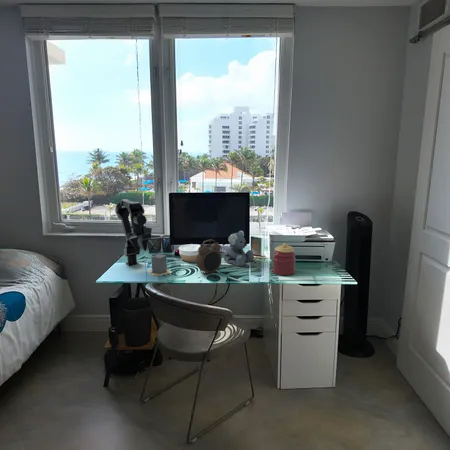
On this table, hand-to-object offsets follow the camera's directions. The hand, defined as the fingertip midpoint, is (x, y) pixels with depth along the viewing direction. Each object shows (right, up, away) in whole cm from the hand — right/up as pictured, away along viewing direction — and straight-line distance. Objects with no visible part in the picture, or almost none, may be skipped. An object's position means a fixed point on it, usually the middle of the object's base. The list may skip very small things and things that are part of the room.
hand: (141, 249), depth 206 cm
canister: (+84, -13, -1) cm, 85 cm away
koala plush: (+57, -9, +19) cm, 60 cm away
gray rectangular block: (+11, -13, -2) cm, 17 cm away
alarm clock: (+40, -14, -2) cm, 43 cm away
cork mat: (+11, -13, -1) cm, 17 cm away
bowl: (+27, -8, +23) cm, 37 cm away
